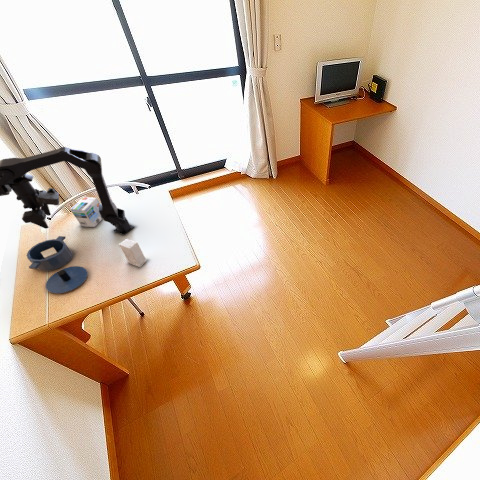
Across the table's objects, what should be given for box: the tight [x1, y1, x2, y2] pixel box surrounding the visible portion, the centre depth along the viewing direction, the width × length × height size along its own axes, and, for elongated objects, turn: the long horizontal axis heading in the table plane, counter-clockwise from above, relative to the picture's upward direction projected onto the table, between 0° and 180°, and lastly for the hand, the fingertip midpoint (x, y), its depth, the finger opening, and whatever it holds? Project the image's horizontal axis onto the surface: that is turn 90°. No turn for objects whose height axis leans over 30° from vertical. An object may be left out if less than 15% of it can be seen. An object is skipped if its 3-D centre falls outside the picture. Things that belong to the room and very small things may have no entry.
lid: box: [45, 265, 89, 295], centre depth 113 cm, size 14×14×6 cm
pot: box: [26, 235, 74, 272], centre depth 119 cm, size 13×18×6 cm
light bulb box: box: [69, 196, 104, 228], centre depth 137 cm, size 11×7×11 cm, turn 179°
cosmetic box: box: [118, 238, 147, 268], centre depth 121 cm, size 6×4×12 cm
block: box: [41, 247, 58, 259], centre depth 120 cm, size 4×4×4 cm
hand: (48, 221), depth 120 cm, fingers open, 9 cm apart
